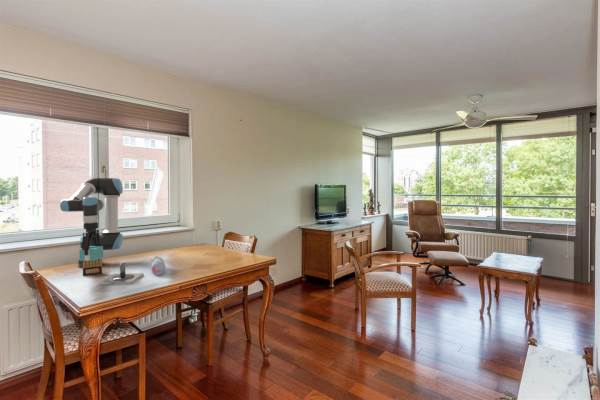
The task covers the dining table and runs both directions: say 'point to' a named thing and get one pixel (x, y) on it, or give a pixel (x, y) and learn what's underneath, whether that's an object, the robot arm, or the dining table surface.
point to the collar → (92, 253)
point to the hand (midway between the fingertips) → (91, 258)
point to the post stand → (122, 277)
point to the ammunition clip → (94, 270)
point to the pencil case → (158, 266)
